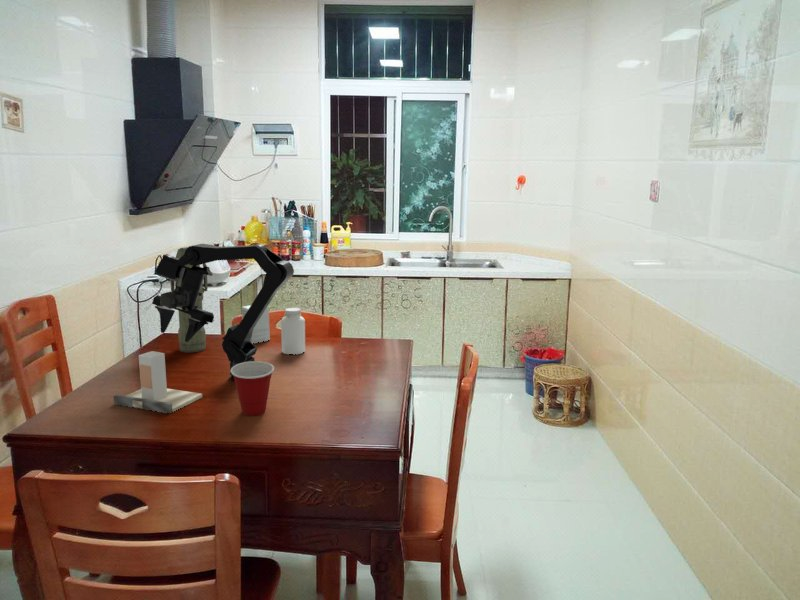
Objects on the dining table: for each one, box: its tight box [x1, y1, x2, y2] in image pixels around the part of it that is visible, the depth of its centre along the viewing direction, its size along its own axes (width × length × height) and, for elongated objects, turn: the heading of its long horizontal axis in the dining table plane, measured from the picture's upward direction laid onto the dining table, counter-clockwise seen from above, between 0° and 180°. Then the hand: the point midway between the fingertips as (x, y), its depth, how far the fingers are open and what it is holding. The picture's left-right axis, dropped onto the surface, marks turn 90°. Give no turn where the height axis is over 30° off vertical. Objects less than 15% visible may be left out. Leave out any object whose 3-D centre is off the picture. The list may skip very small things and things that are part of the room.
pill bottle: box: [280, 307, 306, 356], centre depth 214 cm, size 8×8×15 cm
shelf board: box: [113, 388, 203, 415], centre depth 168 cm, size 18×13×2 cm
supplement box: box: [241, 304, 271, 345], centre depth 228 cm, size 7×7×13 cm
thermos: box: [169, 246, 208, 353], centre depth 214 cm, size 9×12×35 cm
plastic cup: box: [229, 360, 275, 417], centre depth 160 cm, size 11×11×12 cm
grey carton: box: [138, 350, 168, 401], centre depth 167 cm, size 5×4×12 cm
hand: (174, 337), depth 183 cm, fingers open, 9 cm apart
